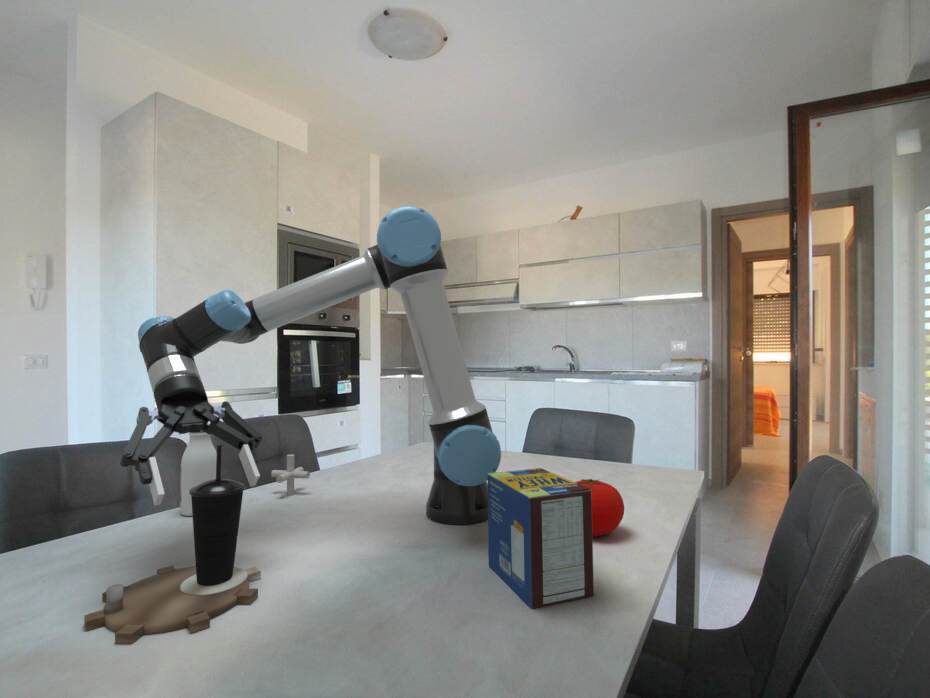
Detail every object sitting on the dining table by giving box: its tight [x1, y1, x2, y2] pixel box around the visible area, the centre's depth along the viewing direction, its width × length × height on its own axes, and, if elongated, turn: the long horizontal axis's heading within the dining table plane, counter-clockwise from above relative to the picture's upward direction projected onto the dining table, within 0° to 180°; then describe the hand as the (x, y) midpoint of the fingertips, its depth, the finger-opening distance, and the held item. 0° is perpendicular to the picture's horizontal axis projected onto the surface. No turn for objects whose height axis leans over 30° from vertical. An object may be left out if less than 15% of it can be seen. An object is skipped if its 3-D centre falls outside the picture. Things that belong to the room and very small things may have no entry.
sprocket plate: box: [83, 565, 262, 645], centre depth 70 cm, size 22×22×4 cm
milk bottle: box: [179, 423, 217, 517], centre depth 111 cm, size 8×8×20 cm
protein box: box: [487, 467, 595, 609], centre depth 75 cm, size 10×15×16 cm
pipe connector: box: [270, 454, 311, 496], centre depth 125 cm, size 10×10×10 cm
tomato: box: [574, 478, 625, 537], centre depth 95 cm, size 12×12×10 cm
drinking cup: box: [189, 444, 246, 585], centre depth 74 cm, size 8×8×20 cm
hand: (210, 490), depth 73 cm, fingers open, 13 cm apart
